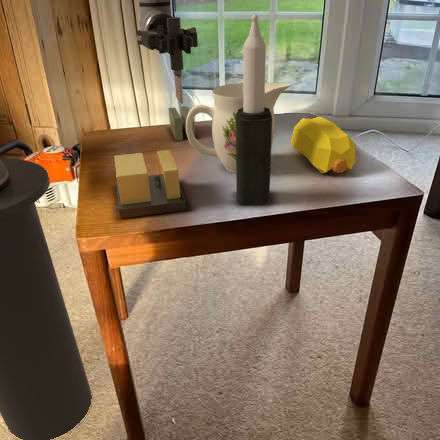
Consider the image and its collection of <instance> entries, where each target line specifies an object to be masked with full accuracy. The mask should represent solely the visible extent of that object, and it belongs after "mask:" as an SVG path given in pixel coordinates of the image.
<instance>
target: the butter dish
mask: <svg viewBox="0 0 440 440" xmlns="http://www.w3.org/2000/svg"><path fill="white" fill-rule="evenodd" d="M156 154H157V162H158V170H159V174H153V175H152V174H151V175H149V173H148V169H147V165H146V161H145V158H144V154H143V152H137V153H128V154H127V153H126V154H117V155H114V166H115V173H116V174H115V175H116V179H115V189H116V199H117V208H118V215H119V219H121V220H122V219H128V218H129V219H130V218H136V217H137V218H138V217H145V216H153V215H160V214H167V213H168V214H169V213H177V212H184V211H187V204H186V203H187V202H186V200H185V197H184V194H183V192H182V189H181V187H180V176H179V175H180V173H179V169H178V166H177V163H176V161H175V159H174V156H173V154H172V152H171V150H170V149H166V150H157V151H156Z"/></svg>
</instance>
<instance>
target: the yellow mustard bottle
mask: <svg viewBox="0 0 440 440" xmlns="http://www.w3.org/2000/svg"><path fill="white" fill-rule="evenodd" d="M290 145H291V146H292V147H293V149H295V150H296V151H297V152H298V153H300V154H301V155H302V156H304V157H305V158H306V159H308V161H309V162H310V164H312V166H313V167H314V168H315V169H316V170H317V171H318V172H319V173H320V174H325V173H327V172H328V171H330V170H331V171H332V172H334V173H335V174H342V173H344V172H345V171H350V170H352V168H353V167H354V165H355V163H356V142H354V141H353V139H351V137H350V136H349V135H347V133H346V132H344V131H343V130H342V129H341V128H340V127H339V126H337V125H336V124H335V123H334V122H332V121H330V120H328V119H326V118H324V117H322V116H316V117H314V118H305V117H302V119H300V120H299V122H298V123H297V124H296V125H295V126H294V127H293V131H292V135H291V140H290Z"/></svg>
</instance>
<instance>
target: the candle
mask: <svg viewBox="0 0 440 440" xmlns="http://www.w3.org/2000/svg"><path fill="white" fill-rule="evenodd" d="M258 21H259V16H258V14H253V15H252V16H251V25H250V29H249V33H248V36H247V38H246V40H245V41H244V44H243V47H242V48H243V49H242V50H243V51H242V52H243V53H242V54H243V55H242V57H243V58H242V59H243V60H242V63H243V64H242V65H243V68H242V69H243V73H242V77H243V78H242V80H243V82H242V83H243V108H240V109H238V112H237V113H236V173H235V174H236V176H235V177H236V178H235V180H236V181H235V183H236V204H238V205H240V206H266V205H268V204H270V194H271V193H270V190H271V188H270V187H271V163H272V161H271V160H272V147H271V138H272V115H271V112H270V109H268V108H266V107H264V96H265V83H266V57H267V56H266V55H267V54H266V51H267V46H266V43H265V41H264V38H263V37H262V35H261V31H260V26H259V22H258Z"/></svg>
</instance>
